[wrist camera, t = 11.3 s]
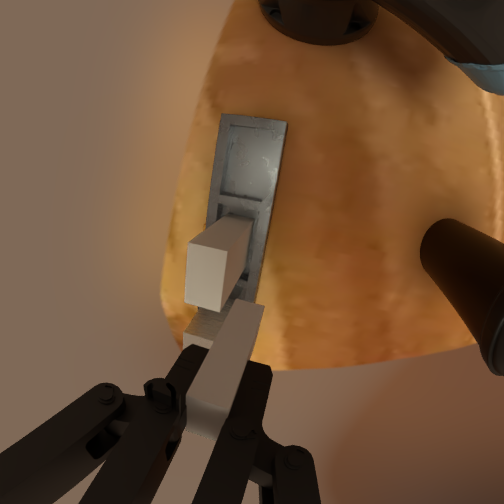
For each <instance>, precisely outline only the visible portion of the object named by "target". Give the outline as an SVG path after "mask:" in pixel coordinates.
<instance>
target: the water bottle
mask: <svg viewBox="0 0 504 504" xmlns="http://www.w3.org/2000/svg"><path fill="white" fill-rule="evenodd" d="M420 258H421V263H422V265H423V267H424V269H425V270H426V272H427V273H428V274H429V275H430V277H431V278H432V279H433V280H434V282H435V283H436V284H437V286H438V287H439V288H440V289H441V291H442V292H443V293H444V295H445V296H446V297H447V299H448V300H449V302H450V303H451V304H452V306H453V307H454V308H455V310H456V311H457V313H458V314H459V316H460V317H461V318H462V320H463V321H464V323H465V324H466V326H467V327H468V329H469V330H470V332H471V333H472V335H473V337H474V338H475V340H476V341H477V343H478V344H479V347H480V352H481V355H482V357H483V360H484V361H485V363H486V364H487V366H488V368H489V369H490V371H491V372H492V373H493V374H495V375H498V376H504V244H503V243H502V242H500V241H498V240H496V239H494V238H492V237H490V236H488V235H486V234H484V233H482V232H480V231H478V230H476V229H474V228H472V227H470V226H467V225H465V224H463V223H461V222H459V221H456V220H454V219H442V220H440V221H438V222H436V223H435V224H433V225H432V226H431V227H430V228H429V229H428V231H427V232H426V234H425V236H424V238H423V240H422V243H421V248H420Z"/></svg>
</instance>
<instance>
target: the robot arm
mask: <svg viewBox="0 0 504 504" xmlns="http://www.w3.org/2000/svg"><path fill="white" fill-rule="evenodd" d="M258 1H259V4H260V7H261V9H262V12H263V14H264V16H265V18H266V19H267V20H268V22H269V23H270V24H271V25H272V26H273V27H275V28H276V29H277V30H278V31H280V32H282V33H283V34H285V35H287V36H289V37H291V38H293V39H296V40H299V41H302V42H306V43H311V44H317V45H340V44H345V43H349V42H352V41H355V40H357V39H359V38H361V37H362V36H364V35H365V34H366V33H367V32H368V31H369V30H370V29H371V28H372V26H373V24H374V22H375V20H376V18H377V15H378V5H380V6H382V7H383V8H385V9H386V10H388V11H389V12H391V13H392V14H394V15H395V16H397V17H398V18H400V19H401V20H402V21H404V22H405V23H406V24H408V25H409V26H410V27H412V28H413V29H414V30H416V31H417V32H418V33H419V34H421V35H422V36H423V37H424V38H426V39H427V40H428V41H429V42H430V43H431V44H433V45H434V46H435V47H436V48H437V49H438V50H439V51H440V52H442V53H443V54H444V56H445V58H446V59H447V60H448V61H449V62H451V63H452V64H454V65H456V66H457V67H459V68H460V69H461V70H462V71H463V72H464V73H465V74H466V75H467V76H468V77H469V78H470V79H471V80H472V81H473V82H474V83H475V84H476V85H477V86H478V87H480V88H481V89H483V90H485V91H487V92H490V93H494V94H496V95H501V96H504V0H258ZM264 307H265V306H262V305H258V304H255V303H251V302H247V301H244V300H240V299H236V300H235V302H234V304H233V306H232V308H231V310H230V311H229V313H228V315H227V317H226V319H225V321H224V323H223V325H222V327H221V329H220V331H219V333H218V335H217V336H216V338H215V340H214V342H213V344H212V346H211V348H210V349H207V348H204V347H201V346H198V345H195V344H191V345H189V346H188V347H186V348H185V349H183V351H182V353H181V354H180V356H179V357H178V359H177V361H176V362H175V364H174V365H173V367H172V368H171V370H170V371H169V373H168V375H167V376H166V378H165V379H164V378H154V379H152V380H149V381H147V382H146V383H145V384H144V391H145V396H135V395H129V394H124V393H122V391H121V390H120V388H119V387H118V386H116V385H114V384H111V383H100V384H98V385H96V386H94V387H93V388H92V389H90V390H89V391H88V392H86V393H85V394H84V395H82V396H81V397H79V398H78V399H77V400H75V401H74V402H72V403H71V404H70V405H68V406H67V407H65V408H64V409H63V410H61V411H60V412H58V413H57V414H56V415H54V416H53V417H52V418H50V419H49V420H47V421H46V422H45V423H43V424H42V425H40V426H39V427H38V428H36V429H35V430H33V431H32V432H30V433H29V434H28V435H26V436H25V437H23V438H22V439H21V440H19V441H18V442H16V443H15V444H13V445H12V446H10V447H9V448H7V449H6V450H5V451H3V452H2V453H0V504H53V503H54V502H55V501H57V500H58V499H59V498H61V497H62V496H63V495H64V494H66V493H67V492H68V491H69V490H70V489H72V488H73V487H74V486H76V485H77V484H78V483H79V482H80V481H82V480H83V479H84V478H85V477H86V476H88V475H89V474H90V473H91V472H92V471H93V470H95V469H96V468H97V467H98V466H99V465H100V464H102V463H103V462H104V461H105V460H106V461H105V462H104V464H103V466H102V467H101V469H100V470H99V472H98V473H97V475H96V477H95V478H94V480H93V481H92V483H91V485H90V486H89V488H88V489H87V491H86V492H85V494H84V496H83V497H82V499H81V500H80V502H79V504H151V502H152V500H153V498H154V496H155V494H156V492H157V490H158V488H159V486H160V484H161V482H162V480H163V478H164V476H165V474H166V471H167V469H168V467H169V465H170V463H171V461H172V459H173V457H174V455H175V453H176V451H177V449H178V447H179V444H180V442H181V438H182V433H183V431H184V429H185V426H186V431H188V432H191V433H194V434H197V435H200V436H203V437H206V438H209V439H212V440H215V441H216V444H215V446H214V449H213V451H212V454H211V457H210V459H209V462H208V464H207V467H206V469H205V472H204V474H203V477H202V480H201V482H200V484H199V487H198V489H197V492H196V494H195V497H194V499H193V501H192V504H241V503H242V500H243V496H244V493H245V489H246V485H247V483H248V479H249V480H251V481H253V482H255V483H257V484H258V485H259V501H260V503H259V504H321V500H320V495H319V489H318V483H317V477H316V471H315V465H314V460H313V457H312V455H311V453H309V451H308V450H307V449H305V448H303V447H300V446H295V445H291V446H285V447H284V446H282V445H280V444H278V443H276V442H275V441H273V440H271V439H270V438H269V437H268V436H267V435H266V434H265V432H264V430H263V427H262V420H263V416H264V411H265V407H266V403H267V399H268V395H269V390H270V386H271V382H272V377H273V374H272V371H271V367H270V366H269V365H265V364H261V363H257V362H254V361H250V358H251V355H252V352H253V348H254V345H255V342H256V338H257V334H258V330H259V326H260V322H261V318H262V315H263V311H264Z"/></svg>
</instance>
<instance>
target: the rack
mask: <svg viewBox="0 0 504 504" xmlns="http://www.w3.org/2000/svg"><path fill="white" fill-rule="evenodd" d="M287 129H288V123H287V122H285V121H279V120H273V119H266V118H259V117H251V116H243V115H233V114H223V113H222V114H221V120H220V126H219V132H218V138H217V144H216V151H215V158H214V165H213V172H212V179H211V186H210V194H209V202H208V210H207V219H206V224H204V229H203V231H204V230H206V229H207V228H208V227H210V226H211V225H212V224H214V223H215V222H216V221H218V220H219V219H221V218H222V217H223V216H225V215H226V214H232V215H237V216H242V217H247V218H252V219H255V221H254V227H253V233H252V238H251V244H250V250H249V256H248V262H247V265H246V267H245V269H244V270H243V272H242V274H241V276H240V277H239V279H238V281H237V283H236V284H235V286H234V288H233V290H232V292H231V293H230V295H229V297H228V299H227V300H226V302H225V304H224V306H223V307H222V309H221V311H220V312H216V311H213V310H209V309H206V308H202V307H198V312H197V313H196V315H195V316H194V317H193V319H192V320H191V322H190V323H189V325H188V326H187V327H186V329H185V330H184V332H183V349H185V348H186V347H188V346H189V345H191V344H195V345H198V346H201V347H204V348H207V349H210V348H211V346H212V344H213V342H214V340H215V338H216V336H217V335H218V333H219V331H220V329H221V327H222V325H223V323H224V321H225V319H226V317H227V315H228V313H229V311H230V310H231V308H232V306H233V304H234V302H235V300H236V299H240V300H244V301H247V302H251V303H255V301H256V296H257V291H258V286H259V281H260V276H261V270H262V265H263V260H264V255H265V250H266V244H267V239H268V234H269V229H270V223H271V218H272V213H273V207H274V202H275V196H276V191H277V186H278V180H279V175H280V169H281V163H282V158H283V152H284V147H285V141H286V135H287Z"/></svg>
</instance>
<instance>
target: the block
mask: <svg viewBox="0 0 504 504" xmlns="http://www.w3.org/2000/svg"><path fill="white" fill-rule="evenodd" d="M254 221H255V219H252V218H247V217H242V216H237V215H232V214H226V215H225V216H223V217H222V218H221V219H219V220H218V221H216V222H215V223H214V224H212V225H211V226H210V227H208V228H207V229H206V230H204V231H203V232H201V233H200V234H199V235H197V236H196V237H195V238H193V239H192V240H191V241H189V242H188V250H187V264H186V281H185V300H184V302H185V303H188V304H191V305H195V306H198V307H202V308H206V309H209V310H213V311H216V312H220V311H221V309H222V307H223V306H224V304H225V302H226V300H227V299H228V297H229V295H230V293H231V292H232V290H233V288H234V286H235V284H236V283H237V281H238V279H239V277H240V276H241V274H242V272H243V270H244V269H245V267H246V265H247V262H248V256H249V250H250V244H251V238H252V233H253V227H254Z"/></svg>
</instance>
